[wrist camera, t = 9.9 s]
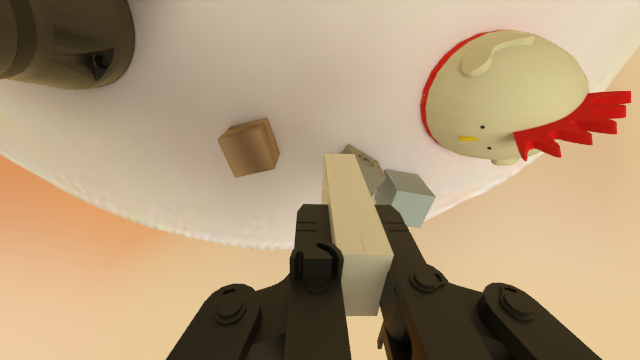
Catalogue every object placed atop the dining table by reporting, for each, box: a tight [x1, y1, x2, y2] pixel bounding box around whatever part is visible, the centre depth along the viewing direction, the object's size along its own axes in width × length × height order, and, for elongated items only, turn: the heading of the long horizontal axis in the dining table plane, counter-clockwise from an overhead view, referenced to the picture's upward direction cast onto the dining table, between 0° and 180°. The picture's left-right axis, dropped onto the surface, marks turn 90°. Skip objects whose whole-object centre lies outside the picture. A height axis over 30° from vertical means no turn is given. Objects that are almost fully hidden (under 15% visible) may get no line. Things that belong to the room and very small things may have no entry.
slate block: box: [375, 169, 435, 228], centre depth 33 cm, size 5×5×6 cm
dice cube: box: [342, 145, 386, 196], centre depth 32 cm, size 5×5×5 cm
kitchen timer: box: [421, 30, 631, 166], centre depth 23 cm, size 14×14×15 cm
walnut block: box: [217, 118, 280, 178], centre depth 30 cm, size 5×5×5 cm
